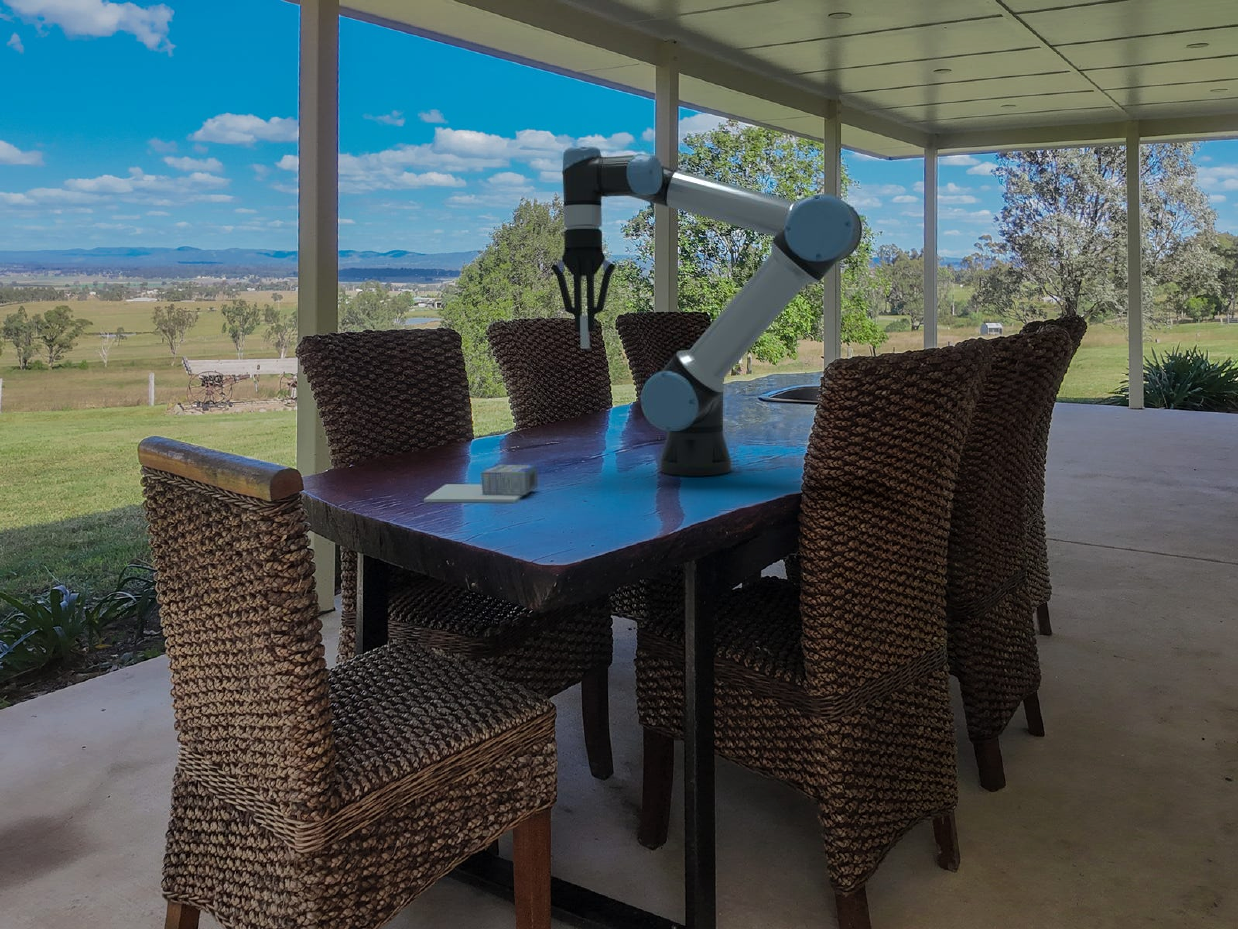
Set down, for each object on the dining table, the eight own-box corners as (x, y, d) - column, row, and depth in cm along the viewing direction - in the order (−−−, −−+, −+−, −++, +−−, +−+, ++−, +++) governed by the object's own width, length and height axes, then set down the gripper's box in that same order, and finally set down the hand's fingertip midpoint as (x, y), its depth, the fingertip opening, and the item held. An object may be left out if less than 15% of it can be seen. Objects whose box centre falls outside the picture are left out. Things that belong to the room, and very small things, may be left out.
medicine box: (526, 471, 186) (480, 470, 188) (526, 495, 187) (481, 494, 188) (537, 465, 194) (493, 464, 195) (537, 488, 195) (494, 486, 196)
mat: (531, 487, 198) (531, 484, 198) (515, 502, 183) (515, 499, 183) (445, 487, 200) (445, 484, 200) (424, 502, 185) (423, 499, 185)
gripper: (617, 229, 205) (619, 347, 208) (553, 230, 206) (556, 347, 210) (613, 226, 197) (615, 348, 201) (547, 227, 198) (550, 349, 202)
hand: (585, 348), depth 205 cm, fingers closed
